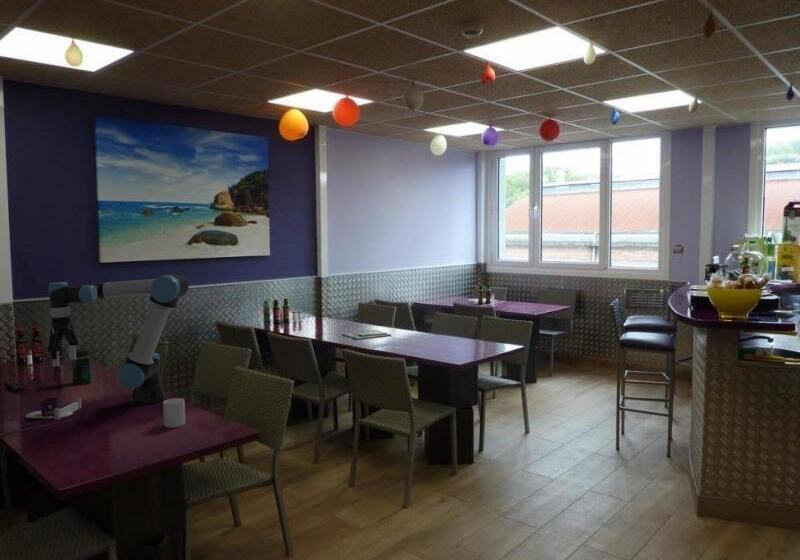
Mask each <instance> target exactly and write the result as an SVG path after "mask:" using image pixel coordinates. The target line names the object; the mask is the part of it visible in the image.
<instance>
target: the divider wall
mask: <svg viewBox="0 0 800 560" xmlns="http://www.w3.org/2000/svg"><path fill="white" fill-rule="evenodd" d="M79 409H82V398H81V397H78V398H76V399H75V401H74V402H72V403H70V404H68V405H66V406H64V407H62V408H60V407H59V408H56V409H54V418H53V420H57V421H58V420H61V418H63V417H62V416H64V415H66V414H68V413H70V412H73V413H74V412H75V411H78V410H79Z"/></svg>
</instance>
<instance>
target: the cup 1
mask: <svg viewBox="0 0 800 560" xmlns="http://www.w3.org/2000/svg"><path fill="white" fill-rule="evenodd" d="M56 408H60V406H59V397H45V398H43V399H41V400H40V411H41V415H42V416H43V417H49V416H54V409H56Z"/></svg>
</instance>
